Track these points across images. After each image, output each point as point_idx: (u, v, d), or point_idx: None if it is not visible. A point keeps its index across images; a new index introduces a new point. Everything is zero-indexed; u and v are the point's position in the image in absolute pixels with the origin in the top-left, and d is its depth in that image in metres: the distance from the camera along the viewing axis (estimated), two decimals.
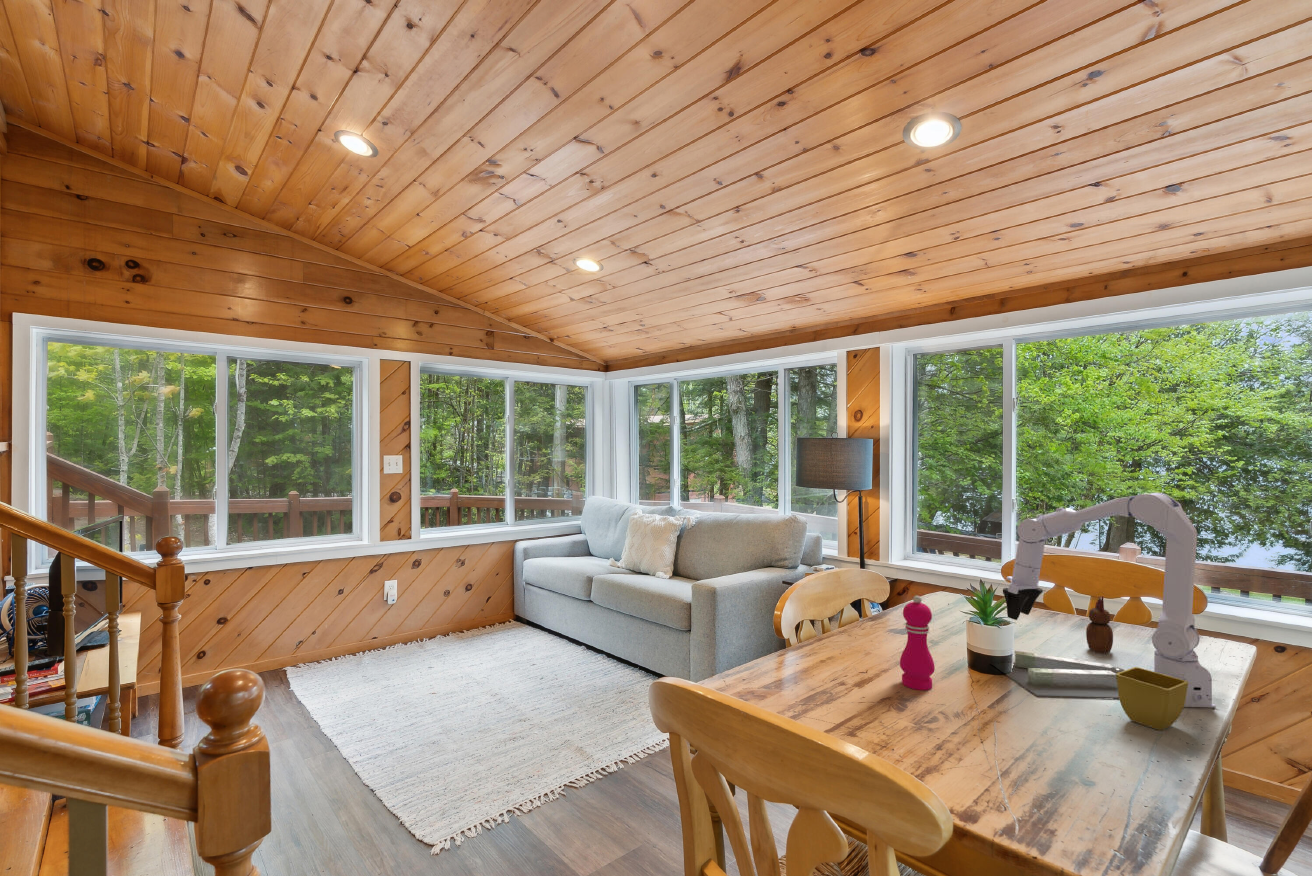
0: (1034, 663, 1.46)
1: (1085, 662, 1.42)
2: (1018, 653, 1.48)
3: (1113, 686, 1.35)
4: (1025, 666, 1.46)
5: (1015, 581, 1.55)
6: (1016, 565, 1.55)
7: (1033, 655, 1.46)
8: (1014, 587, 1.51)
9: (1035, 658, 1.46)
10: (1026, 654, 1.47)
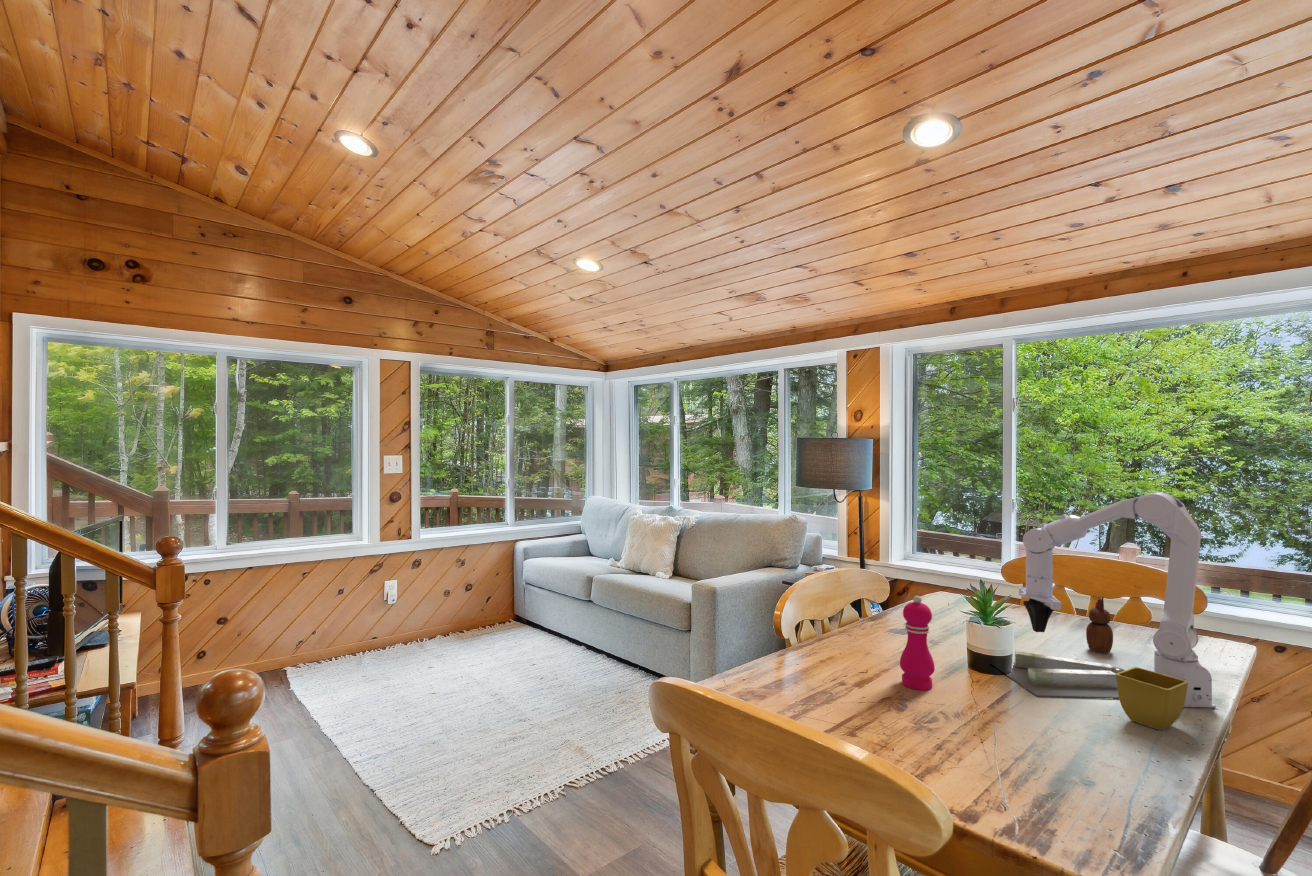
0: (1034, 663, 1.46)
1: (1085, 662, 1.42)
2: (1018, 653, 1.48)
3: (1113, 686, 1.35)
4: (1025, 666, 1.46)
5: (1040, 597, 1.49)
6: (1036, 580, 1.50)
7: (1033, 655, 1.46)
8: (1058, 603, 1.44)
9: (1035, 658, 1.46)
10: (1026, 654, 1.47)
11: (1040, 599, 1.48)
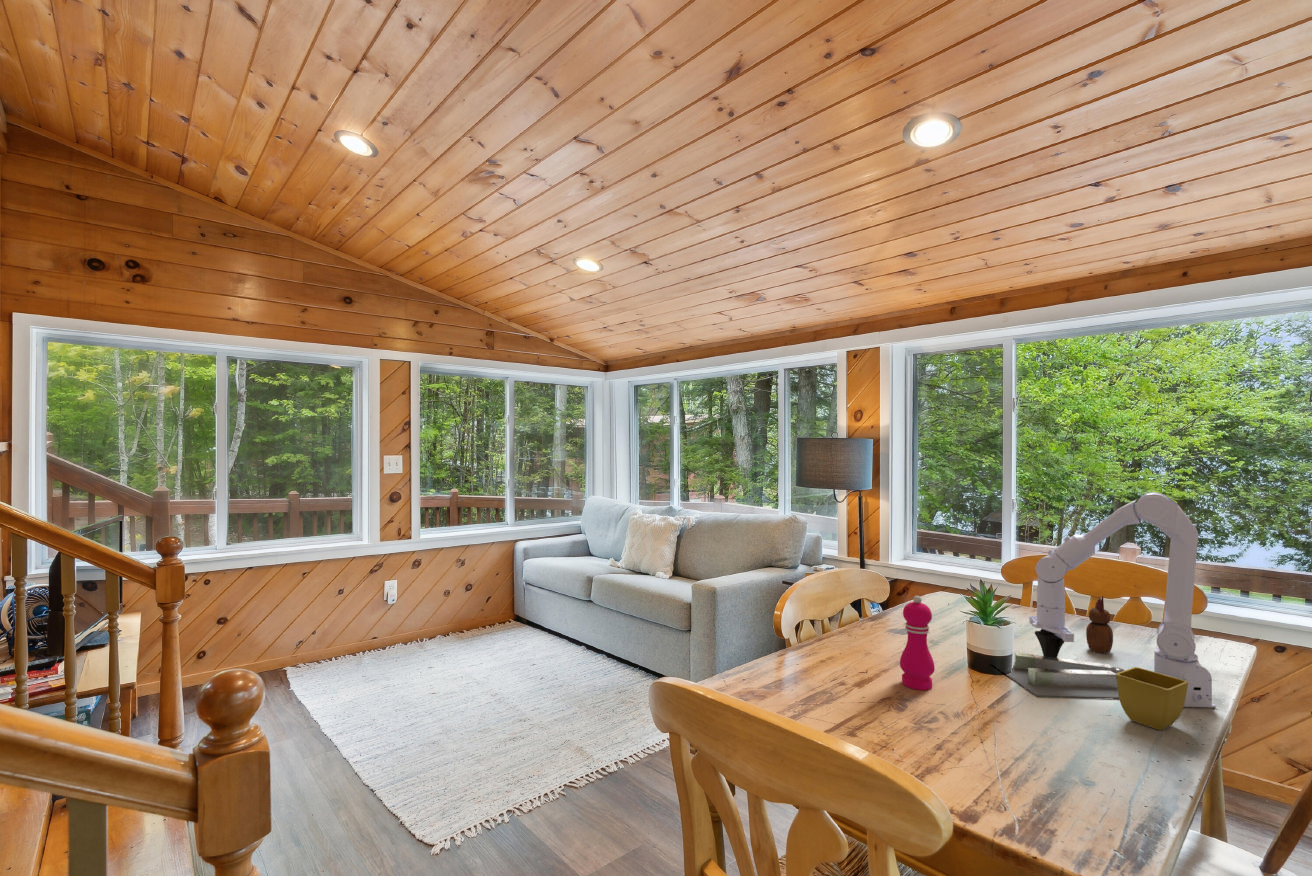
0: (1034, 664, 1.45)
1: (1085, 662, 1.42)
2: (1018, 654, 1.47)
3: (1113, 686, 1.35)
4: (1025, 667, 1.45)
5: (1052, 627, 1.44)
6: (1048, 610, 1.45)
7: (1033, 656, 1.46)
8: (1071, 635, 1.39)
9: (1035, 660, 1.45)
10: (1027, 656, 1.46)
11: (1052, 630, 1.43)
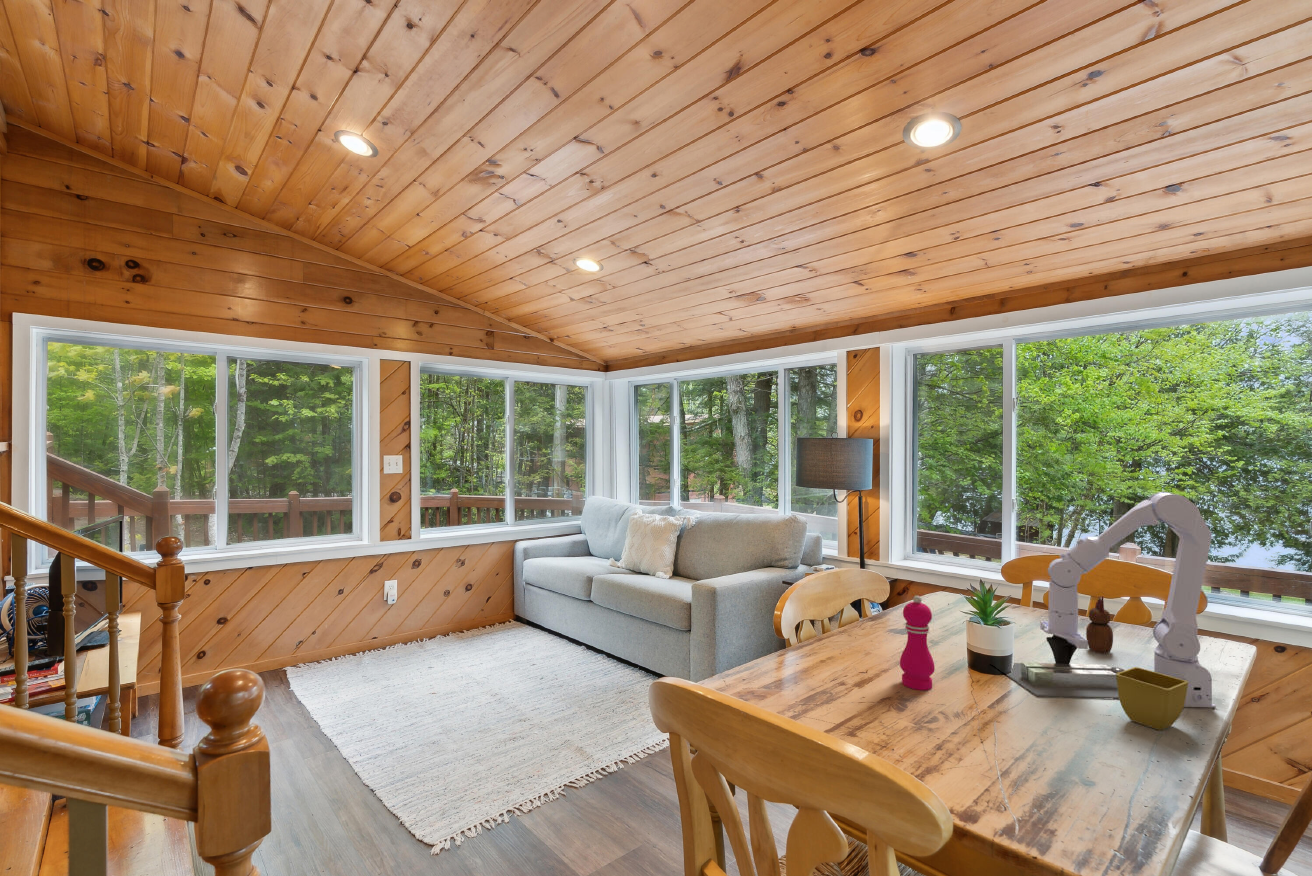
0: None
1: (1086, 665, 1.40)
2: (1028, 665, 1.40)
3: (1113, 686, 1.35)
4: None
5: (1064, 633, 1.39)
6: (1061, 615, 1.40)
7: (1041, 665, 1.40)
8: (1084, 642, 1.35)
9: (1045, 668, 1.39)
10: (1036, 665, 1.39)
11: (1065, 636, 1.38)
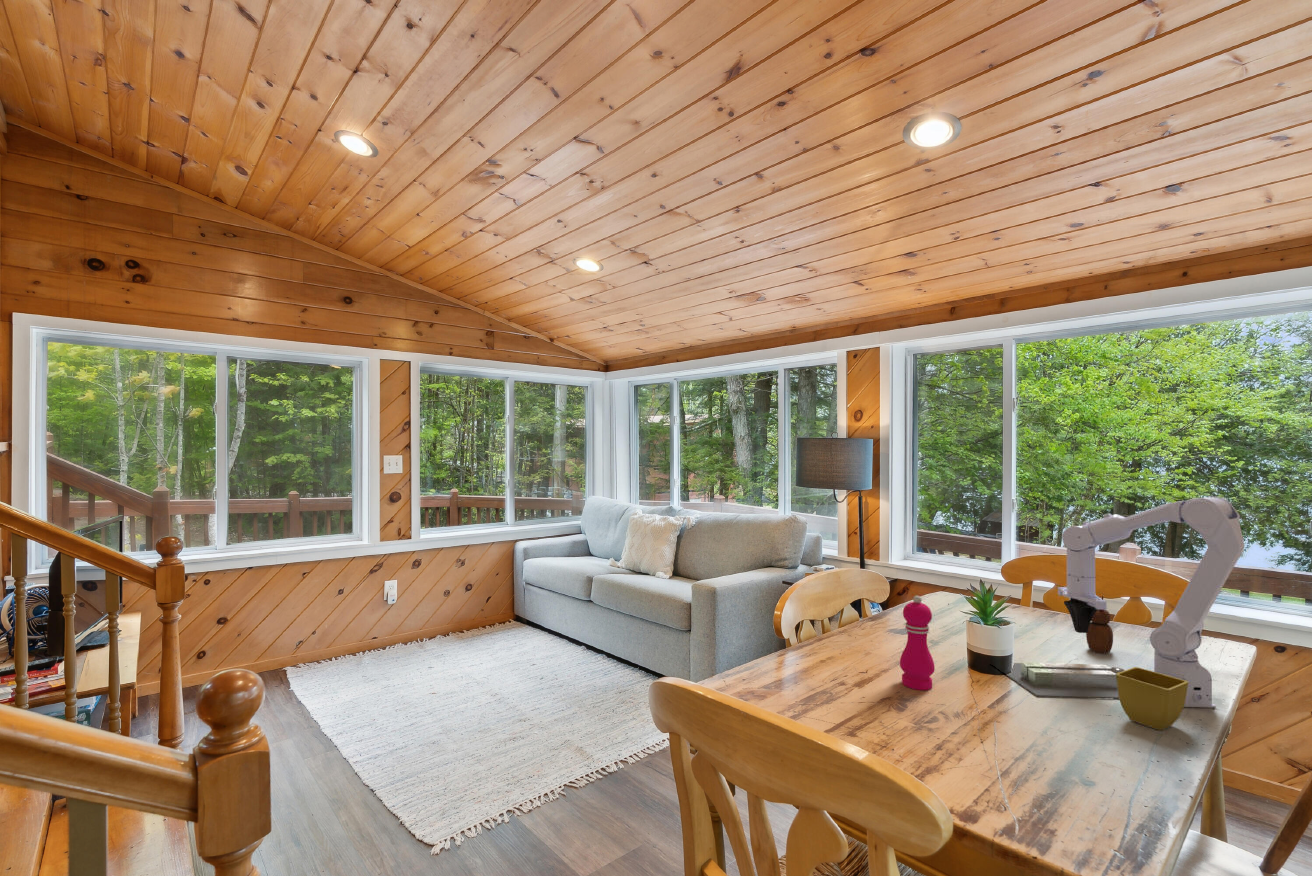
0: None
1: (1086, 665, 1.40)
2: (1028, 665, 1.40)
3: (1113, 686, 1.35)
4: None
5: (1083, 596, 1.45)
6: (1079, 579, 1.45)
7: (1041, 665, 1.40)
8: (1103, 603, 1.40)
9: (1045, 668, 1.39)
10: (1036, 665, 1.39)
11: (1083, 599, 1.44)
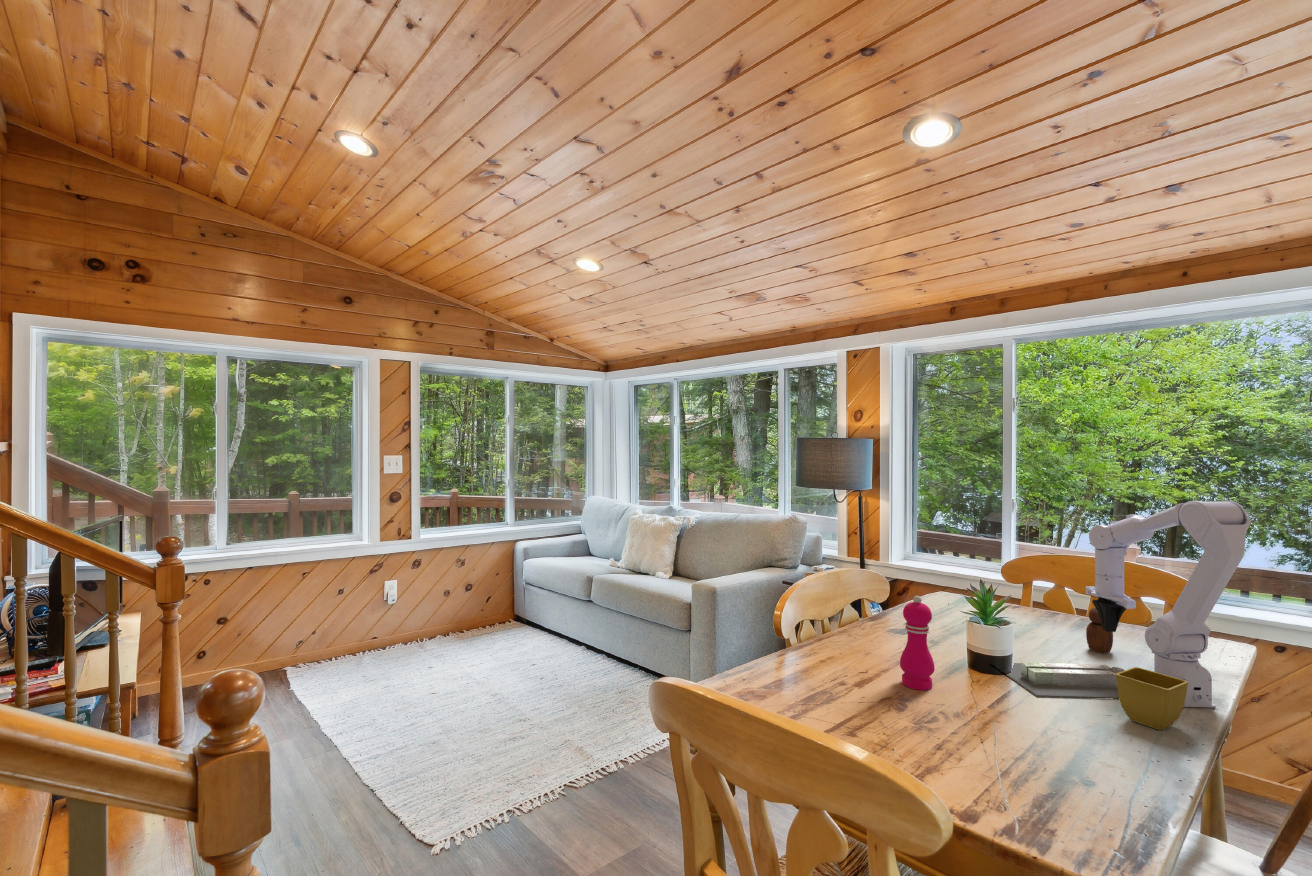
0: None
1: (1086, 665, 1.40)
2: (1028, 665, 1.40)
3: (1113, 686, 1.35)
4: None
5: (1112, 595, 1.45)
6: (1108, 578, 1.46)
7: (1041, 665, 1.40)
8: (1133, 602, 1.41)
9: (1045, 668, 1.39)
10: (1036, 665, 1.39)
11: (1112, 598, 1.44)
